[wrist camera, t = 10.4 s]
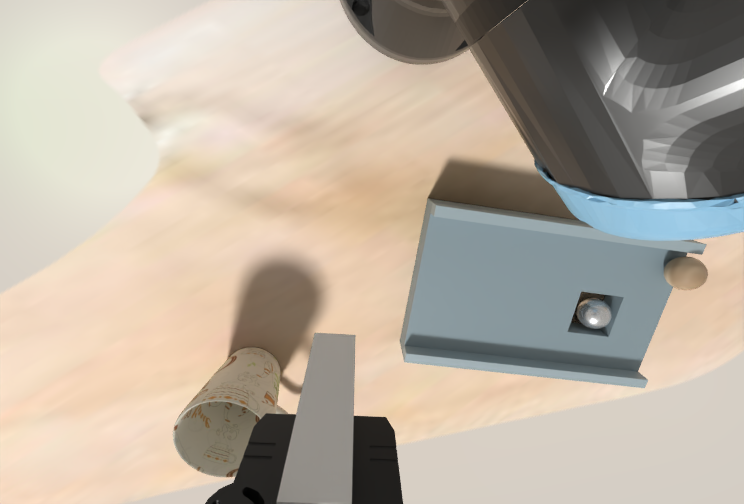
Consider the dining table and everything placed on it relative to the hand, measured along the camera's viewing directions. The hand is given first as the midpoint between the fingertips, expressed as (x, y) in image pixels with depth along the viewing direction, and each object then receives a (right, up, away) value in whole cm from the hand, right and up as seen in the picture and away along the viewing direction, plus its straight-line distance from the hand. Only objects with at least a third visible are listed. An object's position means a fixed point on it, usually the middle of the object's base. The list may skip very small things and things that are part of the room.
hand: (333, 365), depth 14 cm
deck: (+19, 0, +26) cm, 32 cm away
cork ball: (+31, +2, +21) cm, 38 cm away
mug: (-10, -10, +28) cm, 32 cm away
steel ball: (+25, -2, +25) cm, 35 cm away
